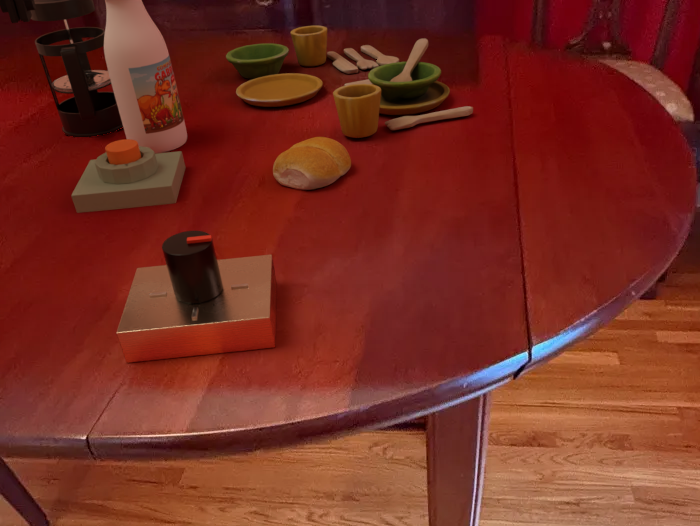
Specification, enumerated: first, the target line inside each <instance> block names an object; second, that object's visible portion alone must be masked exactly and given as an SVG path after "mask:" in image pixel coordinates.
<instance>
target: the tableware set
mask: <svg viewBox="0 0 700 526" xmlns="http://www.w3.org/2000/svg"><path fill="white" fill-rule="evenodd" d="M289 32H290V37H291V40H292V44H293V47H294V53H295V55H296V59H297V63H298V64H299V66H301V67H306V68H307V67H318V66H321V65H323V64H325V63H326V61H327V58H328V59H330V60H332V61H333V62H332V66H334V68H336V69H337V70H339V71H340V72H341V73H344V74H347V75H352V74H357V73H359V70H362V71H365V70H367V69H371V70H370V71H369V72H368V73H367V79H363V80H362V79H361V80H357V81H352V82H347V83H344V85H342V86H340V87H338V88H335V89H334V91H333V92H332V95H333V100H334V103H335V108H336V113H337V117H338V120H339V125H340V129H341V133H342V134H343V135H344V136H346V137H348V138H352V139H360V138H361V139H362V138H366V137H370V136H372V135H374V134H376V133H377V132H378V128H379V119H380V118H379V116H380V114H381V115H388V116H400V117H396V118H392V119H389V120H387V121H384V125H385V126H386V127H387V128H388V129H389V130H390V131H398V130H403V129H404V130H405V129H409V128H413V127H415V126H416V125H419V124H422V123H423V124H424V123H430V122H435V121H443V120H450V119H455V118H461V117H468V116H470V115H472V114H473V113H474V107H473V106H470V105H469V106H468V105H465V106H460V107H455V108H450V109H445V110H440V111H435V112H429V113H425V112H428V111H431V110H433V109H435V108H437V107H439V106H440V105H441V104H442V103H444V101H445V100H446V99H447V98H448V97H449V95H450V92H451V90H450V87H449V86H448V85H447V84H445V83H444V82H441V81H438V80H439V78H440V77H441V75H442V70H441V68H440V67H439V66H437V65H436V64H433V63H430V62H424V61H421V59H422V57H423V55H424V54H425V52H426V51H427V49H428V47H429V40H428V39H427V38H425V37H424V38H419V39H418V40H416V41H415V43H414V45H413V47H412V49H411V52H410V54H409V56H408V59H407V60H406V61H400V58H399V57H397V56H393V55H385V54H383V53H382V52H380V51H379V50H378V49H376V48H375V47H373V46H372V45H369V44H365V45H364V44H363V45H361V46H360V52H361V53H363V54H365V55H367V56H368V57H371V58H372V59H374V60H375V61H374V60H370V59H366V58H364V57H363V56H361V54H360V53H358V51H356V50H355V49H354V48H352V47H346V48H344V49H343V54H344V55H345V56H347V57H348V58H349V59H351V60H353V61H354V62H356V65H355V64H353V62H350V61H349V60H348V59H346V58H345V57H343V56H342V55H340V54H339V53H337V52H336V51H333V50H332V51H327V49H328V48H327V47H328V27H327V26H323V25H306V26H299V27H296V28H294V29H292V30H291V31H289ZM289 52H290V49H289V48H288V46H286V45H283V44H280V43H255V44H254V43H253V44H248V45H243V46H239V47H236V48H234V49H231V50H229V51H228V52H227V53H226V55H225V58H226V61H228V62H229V63H230V64H232V66H233V67H234V69H235V71H237V72H238V73H239V75H240V76H241V77H242V78H245V79H249V80H247V81H245V82H243V83H241V84H240V85H239V86H238V87H237V88H236V89H235V90H236V91H235V94H236V96H238V98H239V99H241V100H242V101H243V102H245V103H246V104H248V105H250V106H255V107H262V108H276V107H277V108H279V107H285V106H292V105H296V104H300V103H304V102H306V101H309V100H311V99H312V98H314V97H315V96H317V94H318V92H319V91H321V89H322V87H323V84H324V82H323V81H322V79H320V77H317V76H315V75H312V74H306V73H295V72H289V73H287V72H285V73H280V71H281V69H282V66H283V63H284V61H285V59H286V58H287V56H288V54H289ZM376 59H377V60H376ZM420 113H423V114H420ZM415 114H420V115H415Z"/></svg>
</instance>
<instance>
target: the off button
mask: <svg viewBox="0 0 700 526" xmlns="http://www.w3.org/2000/svg"><path fill="white" fill-rule="evenodd" d="M104 149H105V153H107V157H108V160H109V163H110V164H113V165H121V164H128V163H131V162H135V161H137V160H139V159H140V158H141V153H140V149H139V146H138V142H137V141H135V140H131V139H127V138H126V139H118V140H115V141H112V142H110V143H108V144H107V145H105V148H104Z"/></svg>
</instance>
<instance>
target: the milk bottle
mask: <svg viewBox="0 0 700 526" xmlns="http://www.w3.org/2000/svg"><path fill="white" fill-rule="evenodd" d="M104 3H105V8H106V9H105V10H106V20H105V27H104V28H105V29H104V30H105V35H104V46H103V54H104V59H105V63H106V67H107V71H108V72H109V76H110V80H111V84H110V85H111V88H112V92H114V95H115V99H116V102H117V106H118V109H119V113H120V117H121V120H122V124H123V131H124V134H125V138H126V139H131V140H135V141H137V142H138V146H142V147H149V148H150V149H152V150H153V151H154V152H155V154H157V153H168V152H170V151H171V152H172V151H174V150H177V149H178V148H180V147H182V146H183V145H184V144H186V143H187V140H188V133H187V132H188V131H187V127H186V122H185V117H184V113H183V109H182V105H181V100H180V95H179V90H178V86H177V82H176V77H175V73H174V69H173V64H172V61H171V57H170V53H169V49H168V45H167V44H166V41H165V38H164V36H163V35H162V33H161V31H160V30H159V28H158V26H157V25H156V23H155V22H154V21H153V19H152V17H151V16H150V14H149V12H148V11H147V9H146V7H145V5H144V2H143V0H104Z"/></svg>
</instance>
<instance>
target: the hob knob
mask: <svg viewBox="0 0 700 526" xmlns="http://www.w3.org/2000/svg"><path fill="white" fill-rule="evenodd" d="M161 249H162V253H163V257H164V260H165V265H167V268H168V272H169V276H170V279H171V283H172V287H173V290H174V294H175V297H176V298H177V299H178V300H179V301H181V302H184V303H201V302H205V301H208V300H211V299H213V298H215V297H216V296H218V295H219V294H220V293H221V291H222V289H223V284H222V279H221V275H220V270H219V266H218V261H217V260H218V257H217V252H216V249H215V244H214V239H213V236H212V234H210V233H208V232H206V231H203V230H186V231H182V232H178V233H176V234H173V235H171V236H169V237H167V238H166V239H164V240H163V242H162V245H161Z"/></svg>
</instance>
